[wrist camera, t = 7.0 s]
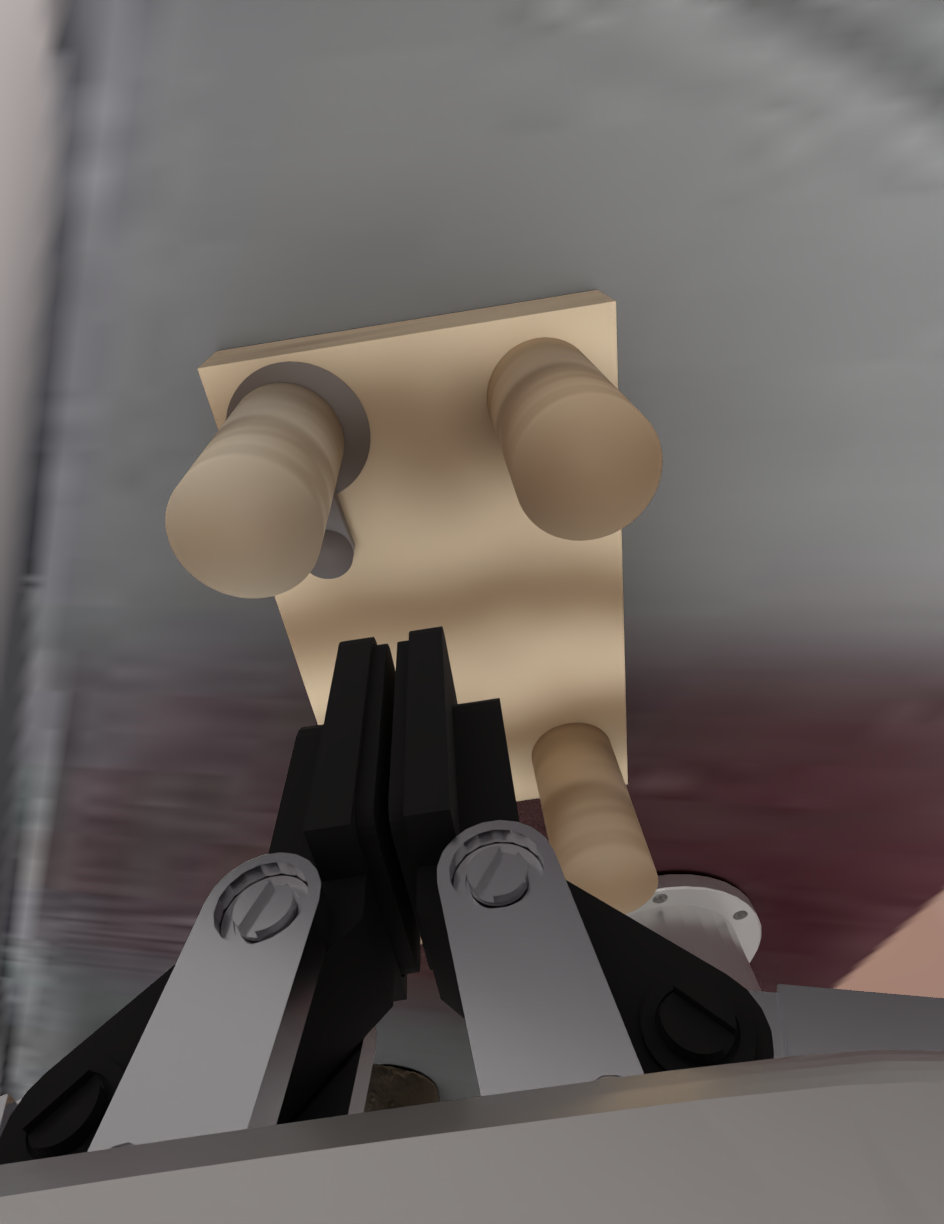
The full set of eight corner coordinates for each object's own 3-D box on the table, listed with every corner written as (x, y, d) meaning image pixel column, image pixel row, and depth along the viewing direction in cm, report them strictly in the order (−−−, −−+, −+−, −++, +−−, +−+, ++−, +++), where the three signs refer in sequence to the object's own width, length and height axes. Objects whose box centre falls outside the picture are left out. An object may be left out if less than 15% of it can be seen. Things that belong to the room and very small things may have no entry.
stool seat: (614, 747, 35) (676, 919, 27) (356, 787, 35) (340, 970, 27) (597, 289, 24) (694, 349, 15) (216, 351, 24) (116, 441, 16)
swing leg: (385, 555, 25) (377, 675, 19) (289, 578, 25) (251, 704, 19) (323, 369, 22) (290, 443, 16) (212, 397, 22) (137, 481, 16)
